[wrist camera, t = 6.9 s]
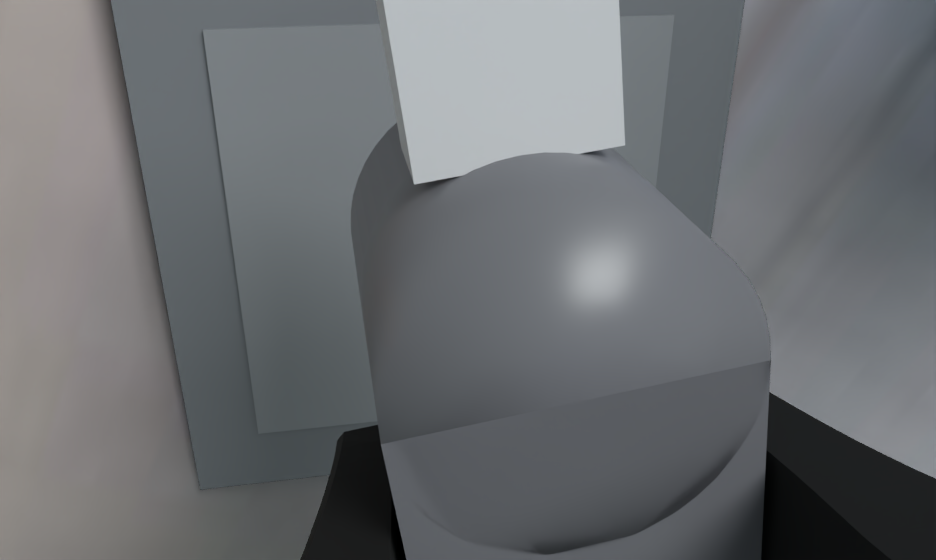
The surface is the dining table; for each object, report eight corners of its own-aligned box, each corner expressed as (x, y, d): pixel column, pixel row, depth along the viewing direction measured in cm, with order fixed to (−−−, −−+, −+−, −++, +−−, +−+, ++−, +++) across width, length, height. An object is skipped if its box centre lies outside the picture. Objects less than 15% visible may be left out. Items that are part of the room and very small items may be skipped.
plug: (284, -81, 10) (273, -37, 6) (599, -130, 10) (794, -118, 6) (427, 594, 15) (473, 862, 11) (633, 546, 15) (749, 788, 11)
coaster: (740, -71, 17) (757, -68, 16) (673, 420, 22) (684, 436, 22) (106, -62, 15) (98, -58, 14) (202, 473, 20) (199, 492, 20)
